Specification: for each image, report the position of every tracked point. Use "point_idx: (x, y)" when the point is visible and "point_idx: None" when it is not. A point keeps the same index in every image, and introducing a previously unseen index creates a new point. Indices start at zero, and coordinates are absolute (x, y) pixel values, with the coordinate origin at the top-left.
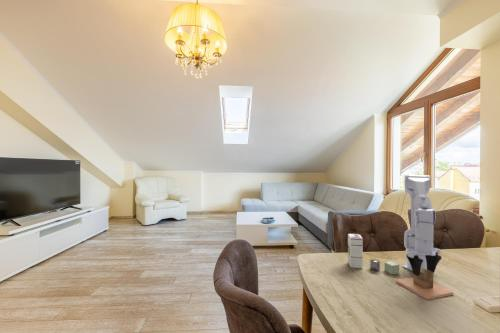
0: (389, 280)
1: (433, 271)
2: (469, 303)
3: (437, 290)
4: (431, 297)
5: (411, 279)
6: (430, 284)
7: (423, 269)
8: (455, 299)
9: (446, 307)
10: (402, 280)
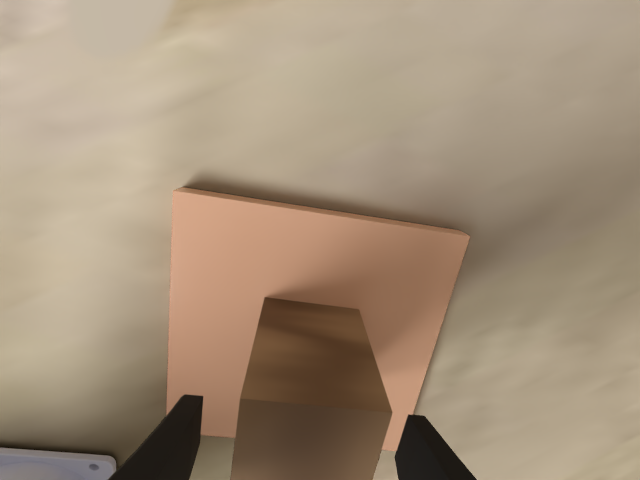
0: None
1: (191, 412)
2: (205, 49)
3: (280, 260)
4: (426, 227)
5: None
6: (294, 317)
7: (276, 474)
8: (250, 140)
9: (455, 110)
10: None
